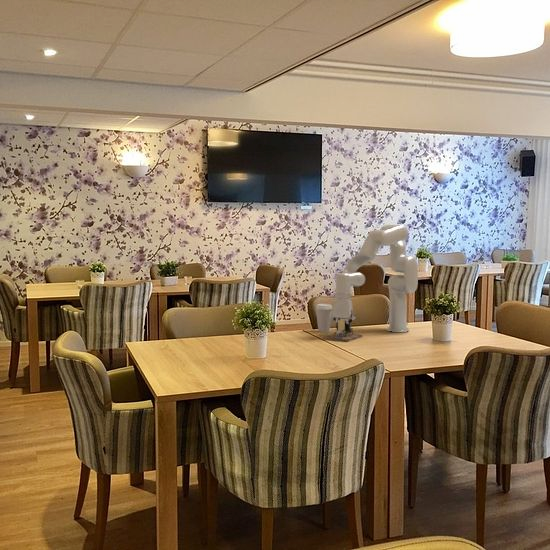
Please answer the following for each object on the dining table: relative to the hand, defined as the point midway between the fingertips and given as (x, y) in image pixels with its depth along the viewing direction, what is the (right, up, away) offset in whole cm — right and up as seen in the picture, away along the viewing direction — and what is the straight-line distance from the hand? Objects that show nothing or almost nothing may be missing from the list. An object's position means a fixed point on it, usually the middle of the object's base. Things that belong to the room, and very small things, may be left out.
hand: (343, 330), depth 329 cm
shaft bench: (0, -4, 0) cm, 4 cm away
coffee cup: (-9, -3, +20) cm, 22 cm away
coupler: (0, 0, 0) cm, 0 cm away
